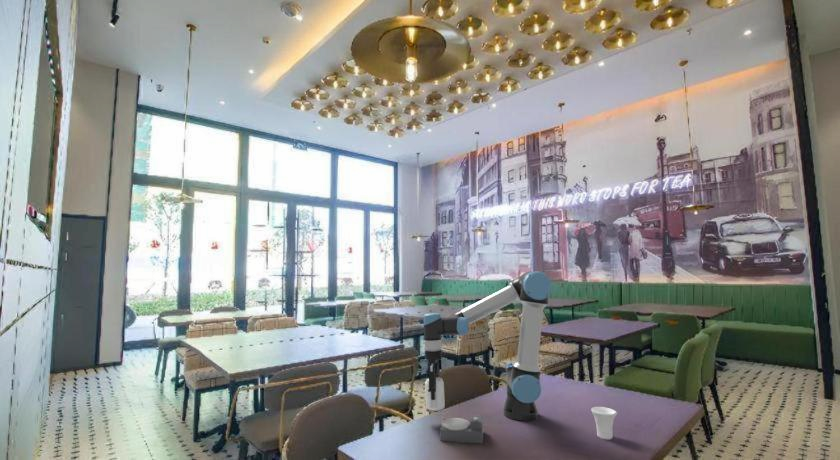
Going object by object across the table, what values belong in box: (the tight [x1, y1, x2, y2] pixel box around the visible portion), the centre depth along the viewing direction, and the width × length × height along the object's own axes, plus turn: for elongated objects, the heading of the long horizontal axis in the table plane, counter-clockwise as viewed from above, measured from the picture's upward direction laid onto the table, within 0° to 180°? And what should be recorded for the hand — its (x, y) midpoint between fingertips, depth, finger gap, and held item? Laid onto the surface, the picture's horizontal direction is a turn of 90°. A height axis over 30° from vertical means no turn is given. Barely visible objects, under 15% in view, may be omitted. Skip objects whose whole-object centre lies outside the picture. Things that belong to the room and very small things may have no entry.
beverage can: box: [424, 376, 446, 412], centre depth 169 cm, size 8×8×12 cm
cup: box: [591, 406, 618, 440], centre depth 153 cm, size 9×9×10 cm
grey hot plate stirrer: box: [439, 414, 484, 444], centre depth 155 cm, size 16×11×8 cm
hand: (435, 403), depth 168 cm, fingers closed on beverage can, 8 cm apart
